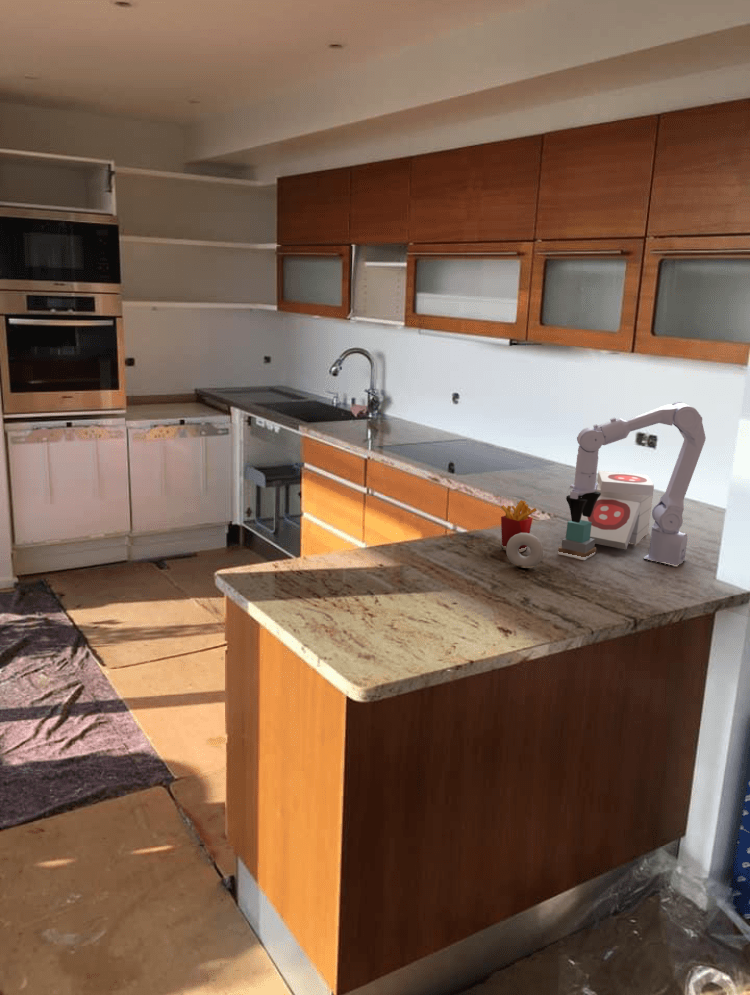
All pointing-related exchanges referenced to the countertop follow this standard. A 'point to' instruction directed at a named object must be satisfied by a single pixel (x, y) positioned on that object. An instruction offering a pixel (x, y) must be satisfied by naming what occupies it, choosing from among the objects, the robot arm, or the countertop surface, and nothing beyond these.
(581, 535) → the teal cube
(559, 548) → the block
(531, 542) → the donut
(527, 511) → the french fries
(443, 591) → the countertop surface
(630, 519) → the stacked pizza boxes
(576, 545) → the tower top
